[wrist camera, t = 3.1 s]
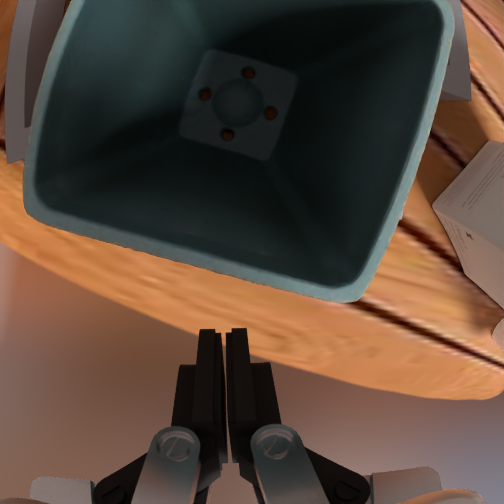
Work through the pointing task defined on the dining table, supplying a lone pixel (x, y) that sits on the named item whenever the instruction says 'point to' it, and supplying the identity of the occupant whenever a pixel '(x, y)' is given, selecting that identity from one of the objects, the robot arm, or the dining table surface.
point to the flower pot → (239, 132)
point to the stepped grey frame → (44, 33)
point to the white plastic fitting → (499, 334)
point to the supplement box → (478, 218)
